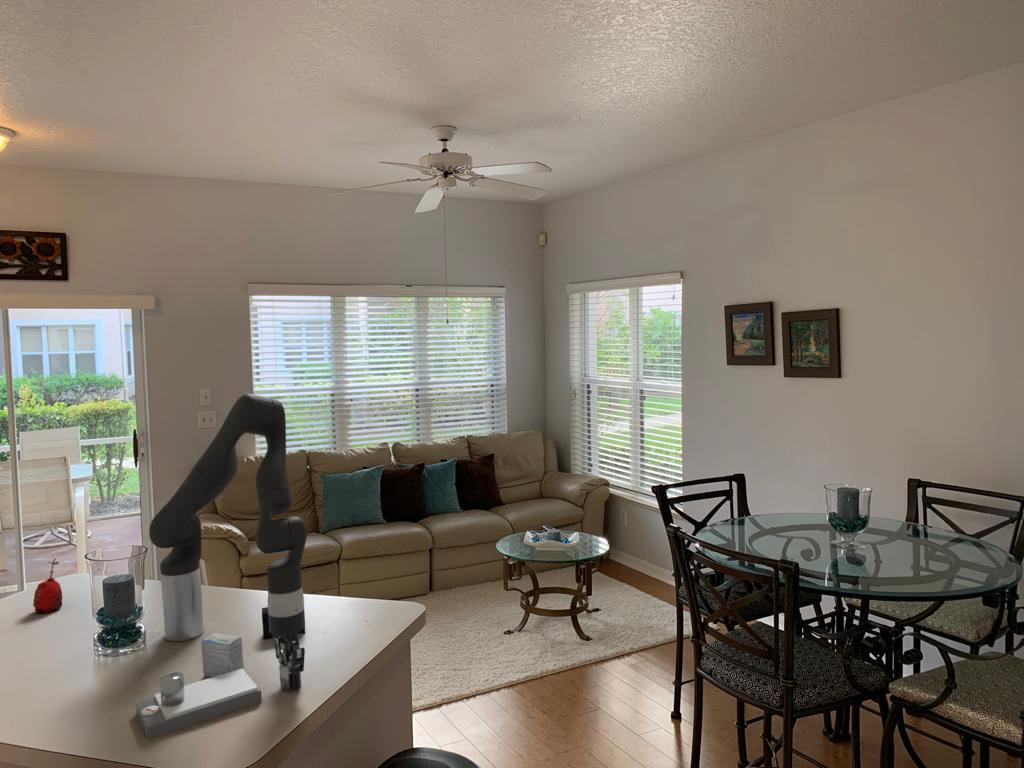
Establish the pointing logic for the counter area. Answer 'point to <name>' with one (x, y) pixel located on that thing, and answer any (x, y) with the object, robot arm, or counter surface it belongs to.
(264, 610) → the digital camera
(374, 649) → the counter surface
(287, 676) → the cylinder
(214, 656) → the medicine box
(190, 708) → the scale
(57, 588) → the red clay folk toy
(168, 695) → the cylinder
